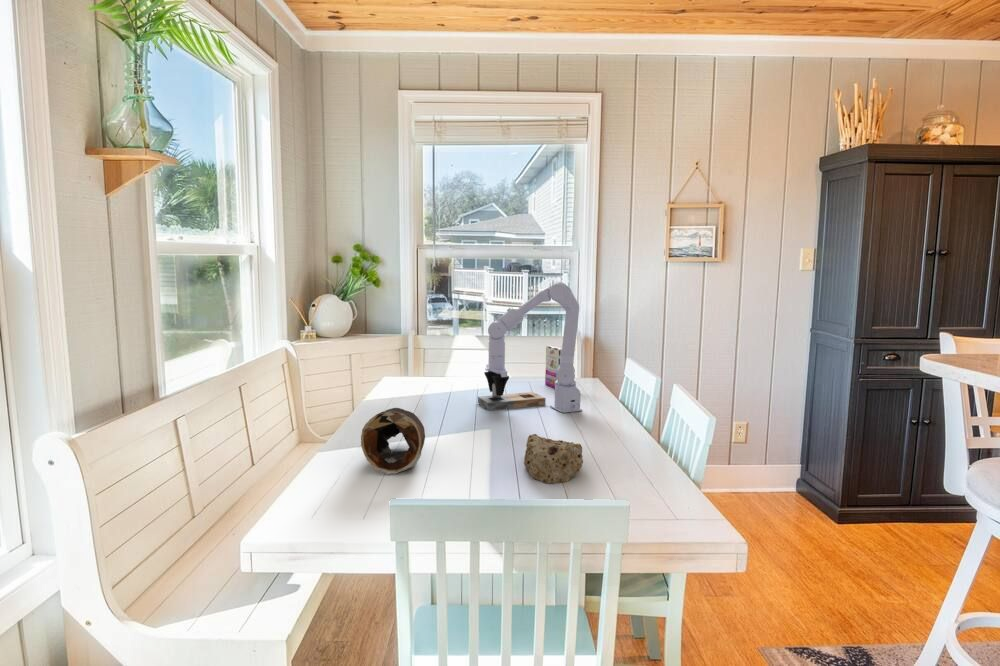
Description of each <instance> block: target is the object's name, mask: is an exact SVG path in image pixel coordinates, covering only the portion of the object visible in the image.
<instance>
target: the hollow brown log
mask: <svg viewBox="0 0 1000 666" xmlns="http://www.w3.org/2000/svg"><path fill="white" fill-rule="evenodd" d="M399 434H401V435H402V436H403V438H404V440H405V442H406V443H407V446H408V449H407V450H403V451H399V452H394V453H393V450H392V449H391V448H390V443H389V441H388V440H389V439H391V438H392V437H393V438H396V436H397V435H399ZM425 440H426V431H425V426H424V425H423V423H422V421H421V420H420V419H419V416H417V415H416V414H415V413H414V412H412V411H409V410H405V409H403V408H400V407H393V408H389V409H386V410H384V411H381V412H379V413H377V414H375V415H373V416H372V417H371V418H370V419H369V420H368V421H367V422H366V423H365V424H364V426H363V428H362V429H361V436H360V444H361V445H360V446H361V450H362V452H363V455H364V457H365V459H366V461H368V463H369V464H370V465H371V466H372V467H373V468H374V470H375V471H377V472H379V473H383V474H387V475H395V474H398V473H402V472H404V471H407V470H409V469H413V468H415V466H416V464H417V463H418V461H419V459H420V458H421V456H422V451H423V447H424V445H425ZM398 457H402V458H400V459H398V460H395V461H392V462H389V461H387V460H388V459H394V458H398Z"/></svg>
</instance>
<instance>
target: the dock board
mask: <svg viewBox="0 0 1000 666" xmlns="http://www.w3.org/2000/svg"><path fill="white" fill-rule="evenodd" d="M478 403H479V404H480V406H481V405H482V406H484V407H485V408H484V407H483V408H484V409H485V410H487V409H488V410H487V411H493V410H492V409H496V410H505V409H504V408H507V409H514V408H515V409H516V407H517V408H525V406H528V407H535V406H546V397H544V396H542V395H540V394H538V393H536V392H534V391H528V392H518V393H517V392H516V393H507V394H504V393H503V395H501V400H495V401H492V395H482V396H477V404H478ZM479 404H478V405H479ZM482 406H481V407H482ZM490 409H491V410H490Z"/></svg>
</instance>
